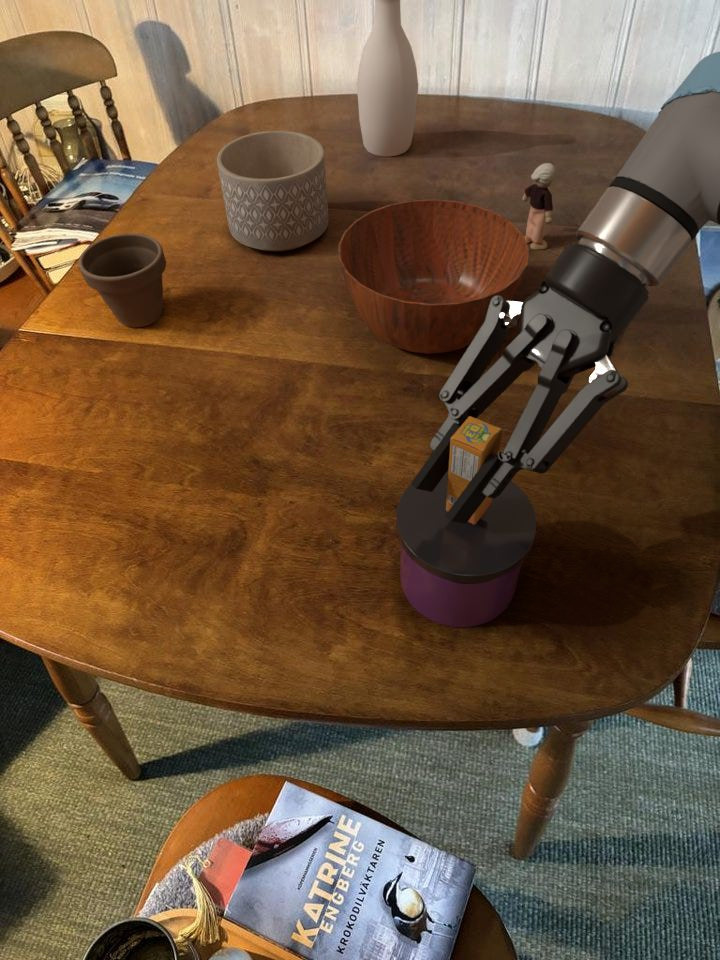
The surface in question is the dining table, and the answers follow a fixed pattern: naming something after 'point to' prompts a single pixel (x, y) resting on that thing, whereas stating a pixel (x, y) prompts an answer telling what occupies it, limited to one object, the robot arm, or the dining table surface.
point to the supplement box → (470, 459)
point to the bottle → (387, 84)
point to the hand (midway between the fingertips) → (438, 503)
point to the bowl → (430, 271)
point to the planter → (274, 189)
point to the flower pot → (127, 276)
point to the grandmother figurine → (539, 205)
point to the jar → (462, 555)
